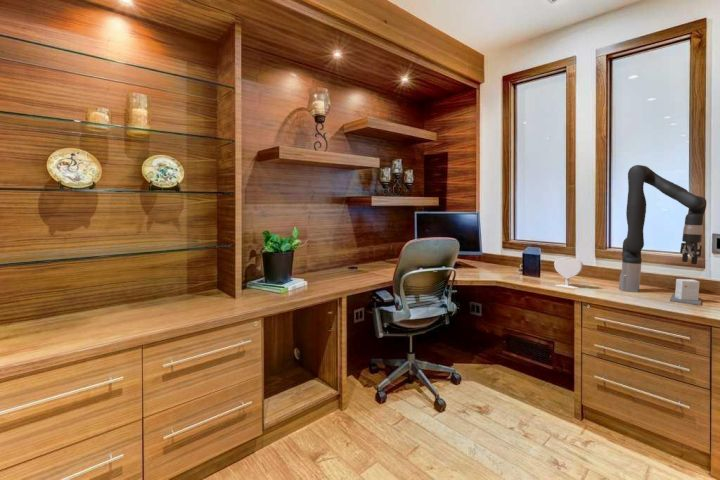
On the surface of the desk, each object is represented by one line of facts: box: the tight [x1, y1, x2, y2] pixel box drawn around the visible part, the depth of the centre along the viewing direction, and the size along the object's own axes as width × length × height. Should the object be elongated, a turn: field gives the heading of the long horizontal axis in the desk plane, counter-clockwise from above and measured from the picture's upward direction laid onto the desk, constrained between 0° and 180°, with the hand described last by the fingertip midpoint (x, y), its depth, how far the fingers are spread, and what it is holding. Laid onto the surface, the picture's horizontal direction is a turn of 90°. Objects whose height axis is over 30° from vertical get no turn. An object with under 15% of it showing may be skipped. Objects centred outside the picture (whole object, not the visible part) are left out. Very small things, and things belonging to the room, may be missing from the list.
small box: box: [674, 278, 701, 300], centre depth 194 cm, size 8×6×10 cm
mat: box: [669, 293, 702, 306], centre depth 194 cm, size 18×12×1 cm, turn 136°
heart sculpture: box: [553, 257, 584, 289], centre depth 226 cm, size 16×5×18 cm, turn 42°
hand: (689, 263), depth 192 cm, fingers open, 8 cm apart
